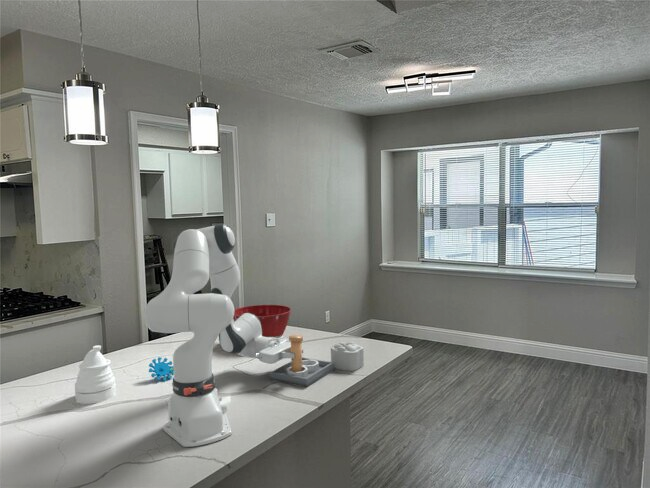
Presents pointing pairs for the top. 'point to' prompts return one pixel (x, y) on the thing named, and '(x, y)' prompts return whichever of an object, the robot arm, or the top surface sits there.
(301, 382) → the tray
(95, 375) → the honey pot
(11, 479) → the top surface
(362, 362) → the lumpy-topped squat cylinder
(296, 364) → the round-headed peg
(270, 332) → the mixing bowl
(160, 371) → the blue knobbed disc
